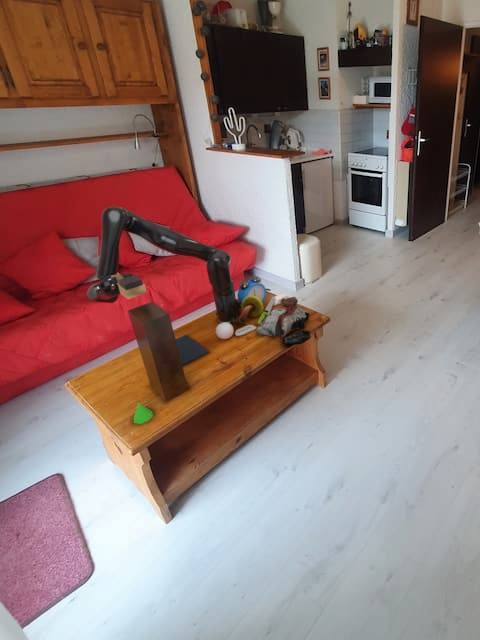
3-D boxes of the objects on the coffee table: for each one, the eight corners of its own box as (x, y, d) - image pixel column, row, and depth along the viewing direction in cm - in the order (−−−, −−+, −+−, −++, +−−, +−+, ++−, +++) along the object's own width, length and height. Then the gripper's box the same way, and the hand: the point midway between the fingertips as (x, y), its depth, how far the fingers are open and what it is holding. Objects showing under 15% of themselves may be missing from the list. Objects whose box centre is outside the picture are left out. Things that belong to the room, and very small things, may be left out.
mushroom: (226, 299, 168) (241, 293, 182) (227, 327, 170) (241, 318, 184) (253, 301, 166) (265, 294, 181) (253, 328, 168) (266, 320, 183)
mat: (186, 336, 166) (186, 334, 166) (208, 353, 156) (208, 351, 155) (159, 349, 158) (158, 347, 158) (180, 367, 148) (179, 365, 147)
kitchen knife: (278, 298, 193) (272, 296, 193) (278, 296, 192) (273, 294, 192) (262, 326, 175) (256, 324, 174) (263, 324, 174) (256, 322, 174)
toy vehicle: (273, 301, 189) (268, 299, 191) (273, 306, 190) (268, 303, 192) (292, 293, 197) (287, 290, 199) (292, 297, 198) (287, 295, 200)
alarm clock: (246, 313, 184) (242, 285, 177) (238, 309, 187) (234, 282, 180) (267, 302, 193) (264, 276, 186) (259, 299, 196) (256, 272, 190)
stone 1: (291, 311, 184) (271, 309, 185) (291, 305, 182) (271, 303, 184) (275, 340, 165) (254, 337, 167) (274, 334, 164) (252, 331, 165)
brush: (125, 276, 137) (121, 264, 135) (147, 292, 127) (143, 279, 125) (106, 282, 133) (102, 269, 131) (127, 299, 123) (123, 285, 121)
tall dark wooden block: (172, 375, 144) (152, 301, 130) (188, 389, 137) (169, 313, 123) (150, 386, 138) (127, 310, 124) (166, 402, 131) (143, 323, 117)
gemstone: (147, 407, 129) (142, 394, 126) (157, 415, 126) (152, 401, 123) (129, 418, 125) (124, 405, 122) (139, 426, 122) (134, 413, 119)
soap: (237, 338, 166) (237, 336, 166) (232, 332, 169) (232, 331, 168) (257, 329, 172) (257, 327, 172) (252, 324, 175) (252, 322, 174)
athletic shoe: (283, 314, 154) (302, 337, 156) (301, 294, 177) (317, 314, 179) (261, 330, 157) (279, 352, 159) (282, 308, 181) (297, 327, 183)
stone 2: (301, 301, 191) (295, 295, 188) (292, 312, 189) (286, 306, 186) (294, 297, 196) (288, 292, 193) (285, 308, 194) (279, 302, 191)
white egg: (217, 320, 160) (219, 319, 167) (212, 337, 159) (214, 336, 166) (241, 326, 162) (242, 325, 170) (236, 343, 162) (237, 341, 169)
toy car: (282, 344, 158) (285, 351, 160) (309, 335, 159) (312, 341, 161) (282, 336, 163) (285, 343, 165) (308, 327, 164) (311, 334, 166)
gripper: (85, 284, 138) (92, 274, 126) (126, 271, 148) (137, 261, 135) (94, 303, 139) (102, 295, 127) (134, 289, 149) (146, 281, 136)
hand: (120, 278), depth 131 cm, fingers closed on brush, 2 cm apart
